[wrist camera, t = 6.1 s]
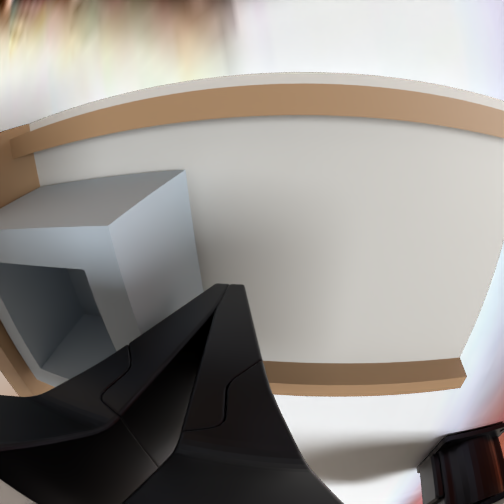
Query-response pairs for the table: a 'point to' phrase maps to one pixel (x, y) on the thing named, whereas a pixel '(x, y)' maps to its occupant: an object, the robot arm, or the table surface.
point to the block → (94, 267)
